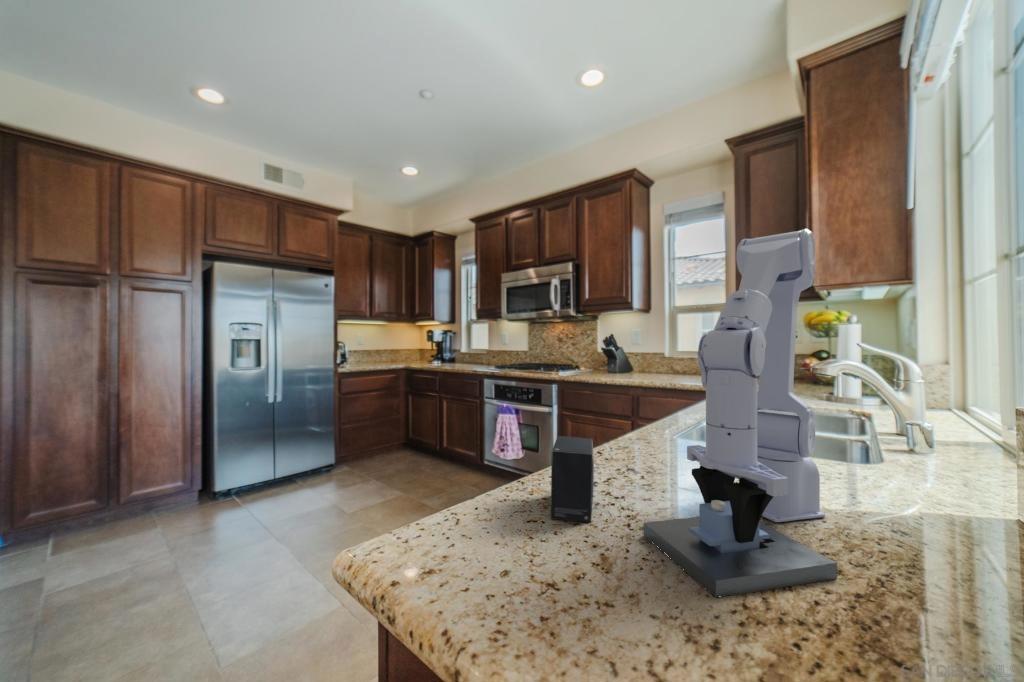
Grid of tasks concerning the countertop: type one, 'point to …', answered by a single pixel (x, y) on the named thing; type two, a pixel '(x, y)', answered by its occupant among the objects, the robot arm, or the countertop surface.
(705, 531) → the servo
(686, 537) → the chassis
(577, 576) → the countertop surface
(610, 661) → the countertop surface
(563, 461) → the small box
